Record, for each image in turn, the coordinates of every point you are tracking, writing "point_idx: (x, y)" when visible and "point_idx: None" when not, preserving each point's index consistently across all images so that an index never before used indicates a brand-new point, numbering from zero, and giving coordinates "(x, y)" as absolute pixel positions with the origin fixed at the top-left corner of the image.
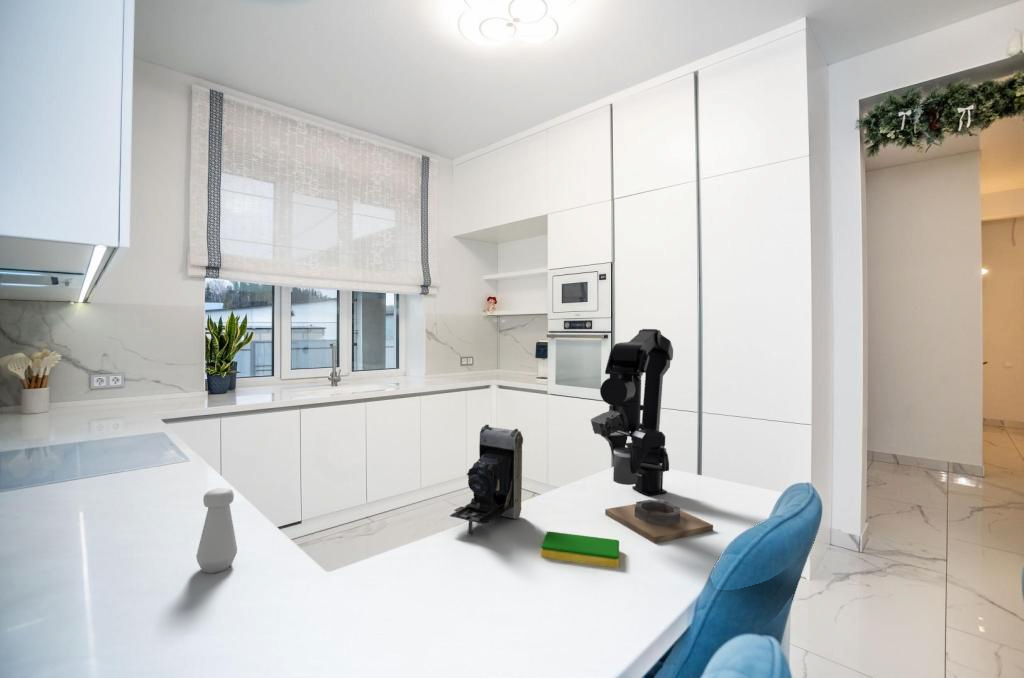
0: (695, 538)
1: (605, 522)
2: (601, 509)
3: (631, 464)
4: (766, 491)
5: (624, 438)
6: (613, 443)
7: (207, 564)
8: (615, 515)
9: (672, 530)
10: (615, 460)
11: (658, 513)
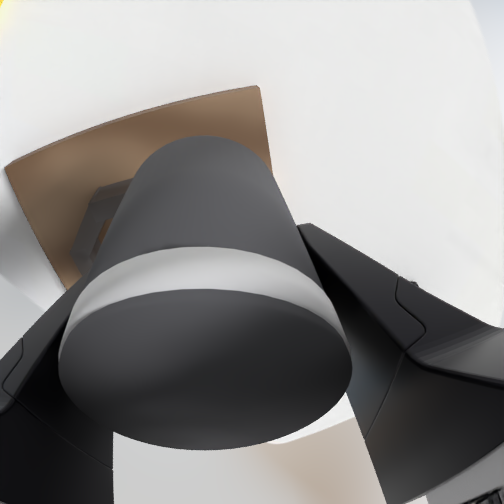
0: (54, 275)
1: (178, 53)
2: (309, 97)
3: (66, 301)
4: (284, 442)
5: (387, 476)
6: (409, 373)
7: None
8: (188, 101)
9: (51, 238)
10: (184, 208)
11: (93, 242)
